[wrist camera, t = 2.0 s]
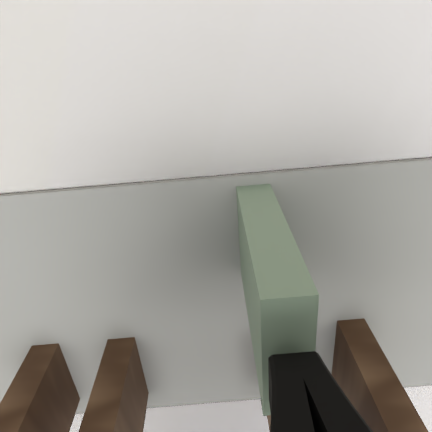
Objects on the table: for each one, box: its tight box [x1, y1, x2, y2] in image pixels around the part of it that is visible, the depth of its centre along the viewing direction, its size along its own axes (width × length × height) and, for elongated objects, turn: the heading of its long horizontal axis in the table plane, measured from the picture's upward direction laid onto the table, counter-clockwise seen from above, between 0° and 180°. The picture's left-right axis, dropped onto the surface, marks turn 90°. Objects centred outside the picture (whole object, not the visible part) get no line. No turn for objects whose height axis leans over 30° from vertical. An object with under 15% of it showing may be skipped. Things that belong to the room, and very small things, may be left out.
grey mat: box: [0, 157, 432, 414], centre depth 20 cm, size 32×16×1 cm, turn 94°
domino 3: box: [332, 318, 428, 432], centre depth 18 cm, size 2×5×8 cm, turn 4°
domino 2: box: [79, 337, 149, 432], centre depth 19 cm, size 2×5×8 cm, turn 4°
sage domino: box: [236, 184, 319, 416], centre depth 14 cm, size 2×5×8 cm, turn 5°
